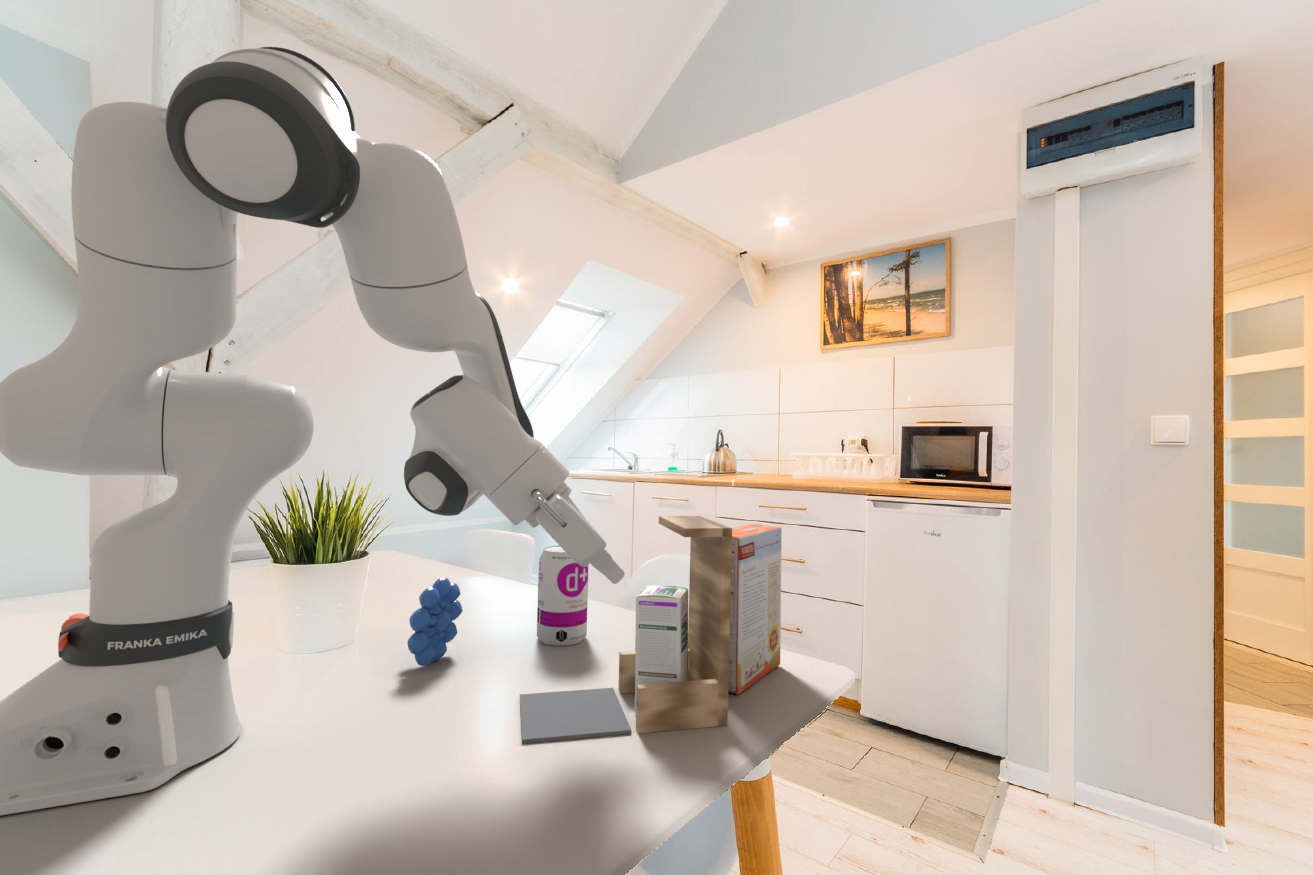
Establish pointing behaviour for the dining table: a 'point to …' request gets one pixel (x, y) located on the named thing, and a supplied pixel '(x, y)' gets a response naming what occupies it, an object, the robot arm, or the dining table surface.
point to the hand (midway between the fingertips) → (613, 570)
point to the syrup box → (661, 635)
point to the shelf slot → (693, 639)
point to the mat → (571, 715)
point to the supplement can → (561, 598)
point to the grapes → (434, 621)
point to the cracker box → (754, 604)
